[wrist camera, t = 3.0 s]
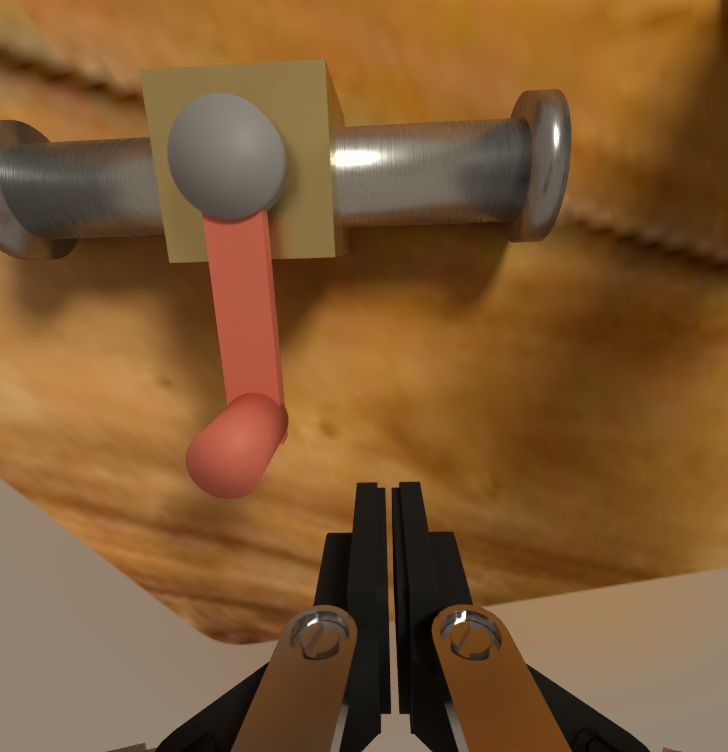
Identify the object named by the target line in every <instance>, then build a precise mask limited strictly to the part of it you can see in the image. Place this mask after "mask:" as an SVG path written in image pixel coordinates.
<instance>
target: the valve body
mask: <svg viewBox="0 0 728 752" xmlns="http://www.w3.org/2000/svg"><path fill="white" fill-rule="evenodd" d="M139 71H140V77H141V83H142V90H143V96H144V103H145V109H146V116H147V122H148V128H149V135H150V137H144V138H125V139H106V140H87V141H68V142H50V141H49V140H48V139H47V138H46V137H45V136H44V135H43V134H42V133H40V132H39V131H38V130H36V129H35V128H33V127H31V126H30V125H28V124H25V123H23V122H20V121H16V120H0V250H1V251H2V252H4V253H6V254H8V255H10V256H12V257H15V258H18V259H22V260H53V259H59V258H62V257H64V256H66V255H68V254H69V253H70V252H71V251H72V250H73V249H74V248H75V246H76V244H77V242H78V240H79V238H98V237H123V236H149V235H165V238H166V244H167V251H168V257H169V263H184V262H209V261H208V254H207V246H206V238H205V231H204V223H203V215H202V212H201V211H200V210H198V209H197V208H195V207H194V206H193V205H192V204H190V203H189V202H188V201H187V200H186V199H185V197H184V196H183V195H182V194H181V192H180V191H179V189H178V188H177V186H176V184H175V182H174V180H173V178H172V175H171V172H170V168H169V164H168V156H167V145H168V138H169V134H170V130H171V127H172V125H173V123H174V121H175V119H176V117H177V116H178V114H179V113H180V112H181V110H182V109H183V108H184V107H185V106H186V105H187V104H189V103H190V102H191V101H193V100H194V99H196V98H198V97H201V96H203V95H207V94H212V93H227V94H232V95H235V96H238V97H241V98H243V99H245V100H247V101H248V102H250V103H251V104H253V105H254V106H255V107H256V108H257V109H259V110H260V111H261V112H262V113H263V115H264V116H265V117H266V118H267V119H268V120H269V121H270V122H271V123H272V124H273V125H274V127H275V128H276V130H277V131H278V133H279V135H280V136H281V138H282V141H283V143H284V146H285V149H286V153H287V159H288V174H287V180H286V184H285V187H284V190H283V192H282V194H281V196H280V198H279V199H278V201H277V202H276V203H275V204H274V206H273V207H272V208H271V209H269V210H268V211H267V216H268V227H269V238H270V249H271V259H297V258H325V257H338V256H343V255H347V254H350V241H349V228H352V227H377V226H403V225H428V224H454V223H479V222H502V225H503V230H504V233H505V235H506V238H507V239H508V240H509V241H510V242H512V243H517V242H539V241H542V240H543V239H544V238H545V237H546V236H547V235H548V234H549V233H550V231H551V229H552V227H553V226H554V223H555V221H556V219H557V216H558V214H559V211H560V208H561V205H562V201H563V197H564V193H565V189H566V184H567V179H568V172H569V165H570V155H571V121H570V113H569V107H568V104H567V100H566V98H565V96H564V94H563V93H562V92H561V91H560V90H558V89H548V90H530V91H525V92H523V93H522V94H521V95H520V97H519V98H518V100H517V102H516V104H515V106H514V109H513V112H512V114H511V118H504V119H485V120H466V121H447V122H428V123H409V124H390V125H371V126H352V127H345V124H344V115H343V112H342V108H341V105H340V102H339V99H338V96H337V93H336V90H335V87H334V84H333V81H332V78H331V75H330V72H329V69H328V66H327V63H326V60H325V59H314V60H298V61H281V62H265V63H249V64H233V65H217V66H201V67H184V68H168V69H152V70H139Z"/></svg>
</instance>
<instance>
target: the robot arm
mask: <svg viewBox="0 0 728 752" xmlns="http://www.w3.org/2000/svg"><path fill="white" fill-rule="evenodd" d="M392 532H393V579H394V603H395V625H396V645H397V669H398V692H399V712H400V714H410V727H411V734H415V735H416V736H417V737H418V738H419V739H420V740H421V741H422V742H423V743H424V744H425V745H426V746H427V747H428V748H429V749H430V750H431V752H650V751H649V750H648V749H647V747H646V746H645V745H643V744H642V743H641V742H640V741H639V740H637V739H636V738H635V737H634V736H632V735H631V734H630V733H628V732H627V731H625V730H624V729H623V728H621V727H619V726H618V725H617V724H615V723H614V722H612V721H611V720H609V719H608V718H606V717H605V716H603V715H602V714H600V713H599V712H597V711H596V710H594V709H593V708H591V707H590V706H588V705H587V704H585V703H584V702H582V701H581V700H579V699H578V698H576V697H575V696H574V695H572V694H571V693H569V692H567V691H566V690H564V689H563V688H562V687H560V686H559V685H557V684H556V683H554V682H553V681H551V680H550V679H548V678H547V677H545V676H544V675H542V674H541V673H539V672H538V671H536V670H535V669H533V668H532V667H530V666H529V665H527V664H526V663H525V662H524V660H523V658H522V656H521V654H520V652H519V650H518V648H517V646H516V645H515V643H514V641H513V639H512V637H511V635H510V633H509V631H508V630H507V628H506V627H505V625H504V624H503V623H502V621H501V620H500V619H499V618H498V617H496V616H495V615H494V614H493V613H491V612H489V611H487V610H485V609H483V608H481V607H477V606H473V602H472V599H471V595H470V591H469V588H468V584H467V580H466V576H465V573H464V569H463V565H462V562H461V558H460V554H459V550H458V547H457V543H456V539H455V536H454V533H453V532H429V530H428V525H427V519H426V513H425V508H424V502H423V497H422V491H421V486H420V482H399V488H392ZM381 714H391V692H390V652H389V608H388V570H387V534H386V499H385V488H377V482H374V483H357V489H356V500H355V510H354V521H353V531H352V533H328V534H327V536H326V541H325V546H324V552H323V557H322V563H321V568H320V573H319V579H318V584H317V590H316V595H315V600H314V606H313V607H309V608H306V609H304V610H302V611H301V612H299V613H297V614H296V615H295V616H294V617H292V618H291V619H290V620H289V622H288V623H287V625H286V626H285V628H284V629H283V632H282V634H281V636H280V639H279V641H278V644H277V646H276V648H275V650H274V652H273V655H272V657H271V660H270V662H268V663H267V664H265V665H264V666H263V667H261V668H260V669H258V670H257V671H256V672H254V673H253V674H252V675H250V676H249V677H247V678H246V679H245V680H243V681H242V682H241V683H239V684H238V685H236V686H235V687H234V688H232V689H231V690H229V691H228V692H227V693H225V694H224V695H223V696H221V697H220V698H219V699H217V700H216V701H214V702H213V703H212V704H210V705H209V706H207V707H206V708H205V709H203V710H202V711H201V712H199V713H198V714H197V715H195V716H194V717H192V718H191V719H190V720H188V721H187V722H185V723H184V724H183V725H181V726H180V727H179V728H177V729H176V730H175V731H173V732H172V733H171V734H170V735H169V736H168V737H167V738H166V739H164V740H163V741H162V742H161V744H160V745H159V746H158V748H153V749H149V750H147V749H146V744H145V743H142V744H138V745H133V746H129V747H125V748H120V749H116V750H112V751H108V752H363V750H364V749H365V748H366V746H367V745H368V744H369V743H370V742H371V741H372V740H373V739H374V738H375V737H376V736H377V735H378V734H380V733H381ZM663 752H681V751H676V750H672V749H668V748H663Z"/></svg>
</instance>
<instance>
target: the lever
mask: <svg viewBox="0 0 728 752" xmlns="http://www.w3.org/2000/svg"><path fill="white" fill-rule="evenodd" d="M167 156H168V164H169V168H170V172H171V175H172V178H173V180H174V182H175V184H176V186H177V188H178V189H179V191H180V192H181V194H182V195H183V196H184V197H185V199H186V200H187V201H188V202H189V203H190V204H192V205H193V206H194V207H195V208H197V209H198V210H200V211H201V212H202V215H203V223H204V231H205V238H206V246H207V254H208V261H209V269H210V277H211V284H212V292H213V299H214V307H215V315H216V322H217V330H218V338H219V345H220V353H221V361H222V368H223V376H224V383H225V391H226V399H227V407H226V408H225V409H224V410H223V411H222V412H221V413H220V414H219V415H218V416H217V417H216V418H215V419H214V420H213V421H212V422H211V423H210V424H209V425H208V426H207V427H206V428H205V429H204V430H203V431H202V432H201V433H200V434H199V435H198V436H197V437H196V438H195V439H194V440H193V441H192V442H191V444H190V446H189V448H188V450H187V454H186V465H187V470H188V472H189V475H190V476H191V478H192V480H193V481H194V482H195V483H196V485H197V486H198V487H200V488H201V489H202V490H203V491H205V492H207V493H208V494H210V495H213V496H216V497H219V498H227V499H230V498H238V497H241V496H244V495H246V494H248V493H249V492H251V491H252V490H253V489H254V488H255V487H256V485H257V484H258V482H259V481H260V479H261V477H262V475H263V473H264V471H265V469H266V468H267V466H268V464H269V462H270V460H271V458H272V457H273V455H274V453H275V451H276V449H277V447H278V445H279V444H284V442H285V440H286V438H287V436H288V434H287V427H288V414H287V411H286V408H285V401H284V391H283V380H282V369H281V358H280V347H279V336H278V325H277V314H276V303H275V292H274V281H273V270H272V260H271V249H270V238H269V227H268V216H267V211H268V210H269V209H271V208H272V207H273V206H274V204H275V203H276V202H277V201H278V199H279V198H280V196H281V194H282V192H283V190H284V187H285V184H286V180H287V174H288V159H287V153H286V149H285V146H284V143H283V141H282V138H281V136H280V135H279V133H278V131H277V130H276V128H275V127H274V125H273V124H272V123H271V122H270V121H269V120H268V119H267V118H266V117H265V116H264V115H263V113H262V112H261V111H260V110H259V109H257V108H256V107H255V106H254V105H253V104H251V103H250V102H248V101H247V100H245V99H243V98H241V97H238V96H235V95H232V94H227V93H212V94H207V95H203V96H201V97H198V98H196V99H194V100H193V101H191V102H190V103H189V104H187V105H186V106H185V107H184V108H183V109H182V110H181V112H180V113H179V114H178V116H177V117H176V119H175V121H174V123H173V125H172V127H171V130H170V134H169V138H168V145H167Z"/></svg>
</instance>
